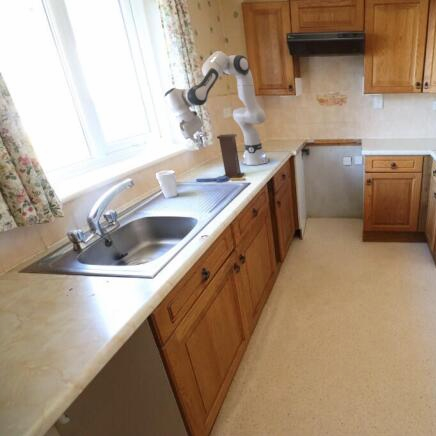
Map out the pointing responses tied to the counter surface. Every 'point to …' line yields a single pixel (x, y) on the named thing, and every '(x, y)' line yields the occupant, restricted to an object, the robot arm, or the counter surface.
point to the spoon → (215, 179)
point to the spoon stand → (230, 155)
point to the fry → (237, 179)
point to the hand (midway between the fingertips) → (199, 139)
